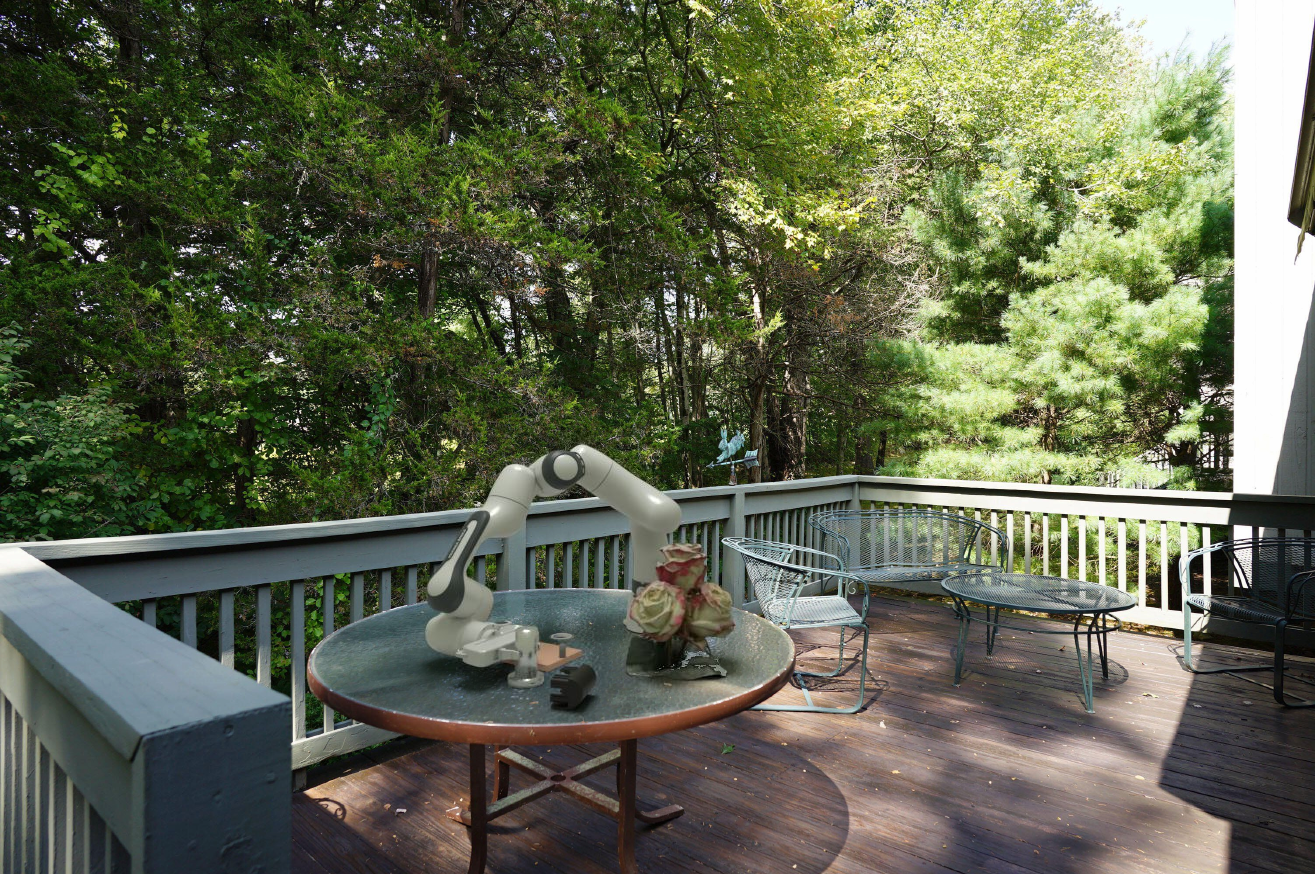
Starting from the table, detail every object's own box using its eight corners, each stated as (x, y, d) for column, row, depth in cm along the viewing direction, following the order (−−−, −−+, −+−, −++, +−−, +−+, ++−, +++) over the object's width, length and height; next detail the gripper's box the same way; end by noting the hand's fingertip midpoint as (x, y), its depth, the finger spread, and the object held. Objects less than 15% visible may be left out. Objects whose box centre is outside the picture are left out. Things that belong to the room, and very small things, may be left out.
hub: (523, 673, 166) (524, 622, 166) (551, 680, 162) (551, 627, 162) (500, 684, 159) (501, 630, 159) (528, 690, 155) (529, 635, 155)
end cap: (582, 712, 144) (582, 679, 144) (549, 709, 145) (549, 676, 145) (596, 695, 154) (597, 663, 154) (565, 692, 155) (565, 661, 155)
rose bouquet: (621, 682, 162) (623, 550, 162) (638, 644, 191) (639, 532, 191) (735, 688, 159) (737, 554, 159) (734, 649, 188) (736, 535, 188)
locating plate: (538, 647, 187) (538, 630, 187) (582, 655, 180) (582, 638, 180) (502, 661, 175) (502, 643, 175) (547, 671, 168) (548, 652, 168)
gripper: (450, 639, 158) (498, 649, 151) (511, 619, 176) (556, 627, 169) (450, 667, 158) (497, 679, 151) (511, 644, 176) (556, 653, 169)
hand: (529, 651), depth 160 cm, fingers closed on hub, 5 cm apart
